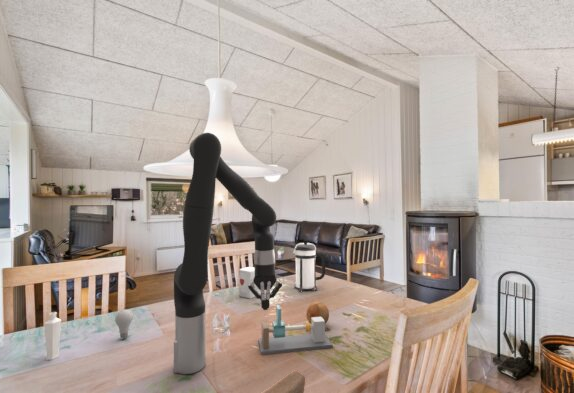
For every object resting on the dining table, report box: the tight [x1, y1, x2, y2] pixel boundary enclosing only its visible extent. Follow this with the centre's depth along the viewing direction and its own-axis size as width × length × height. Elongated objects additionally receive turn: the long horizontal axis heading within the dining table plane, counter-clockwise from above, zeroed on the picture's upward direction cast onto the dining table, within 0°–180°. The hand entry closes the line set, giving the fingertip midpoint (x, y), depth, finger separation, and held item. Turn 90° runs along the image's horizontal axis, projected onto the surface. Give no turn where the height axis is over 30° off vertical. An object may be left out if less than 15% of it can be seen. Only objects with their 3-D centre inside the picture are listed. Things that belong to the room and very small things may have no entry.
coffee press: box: [292, 238, 326, 293], centre depth 179 cm, size 17×16×30 cm
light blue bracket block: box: [272, 304, 286, 338], centre depth 108 cm, size 4×4×10 cm
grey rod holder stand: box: [258, 317, 334, 355], centre depth 109 cm, size 26×10×8 cm, turn 101°
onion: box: [305, 300, 330, 325], centre depth 126 cm, size 10×10×10 cm
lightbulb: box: [114, 309, 134, 340], centre depth 114 cm, size 6×6×11 cm
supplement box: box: [238, 266, 261, 300], centre depth 166 cm, size 9×9×15 cm
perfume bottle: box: [43, 311, 62, 361], centre depth 101 cm, size 5×4×15 cm
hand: (265, 309), depth 108 cm, fingers closed
